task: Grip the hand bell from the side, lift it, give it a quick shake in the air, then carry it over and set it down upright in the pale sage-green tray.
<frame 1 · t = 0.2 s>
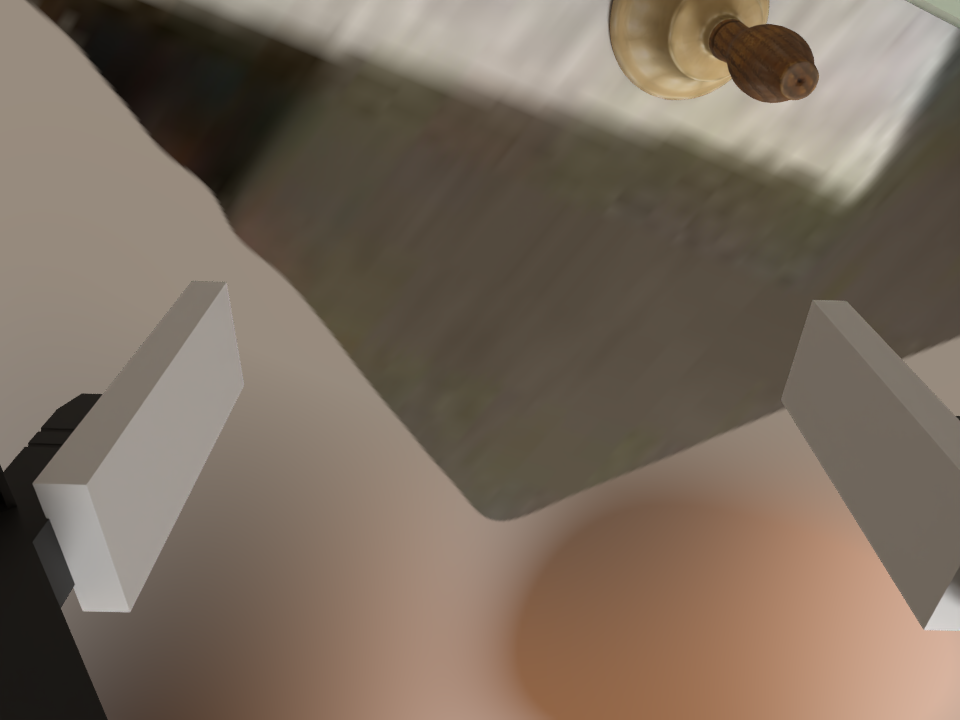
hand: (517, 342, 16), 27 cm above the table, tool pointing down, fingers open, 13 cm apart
hand bell: (687, 17, 38), on the table
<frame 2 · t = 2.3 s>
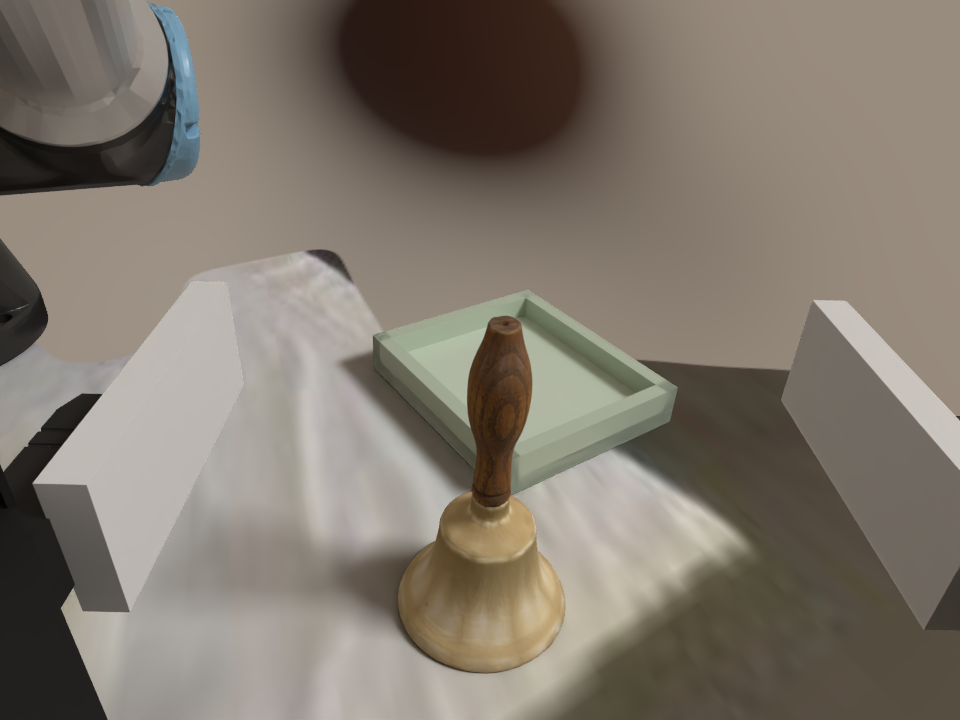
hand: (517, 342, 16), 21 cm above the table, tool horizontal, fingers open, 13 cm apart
hand bell: (481, 600, 36), on the table
tray: (516, 393, 50), on the table
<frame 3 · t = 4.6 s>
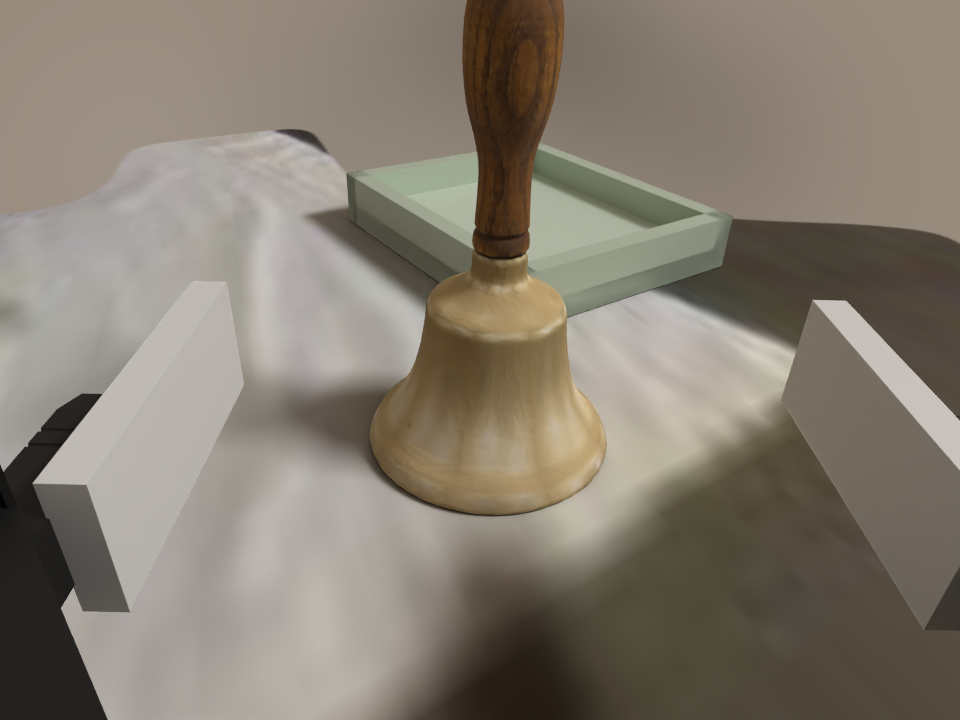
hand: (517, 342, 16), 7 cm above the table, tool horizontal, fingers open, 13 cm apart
hand bell: (488, 438, 25), on the table
tray: (526, 241, 40), on the table
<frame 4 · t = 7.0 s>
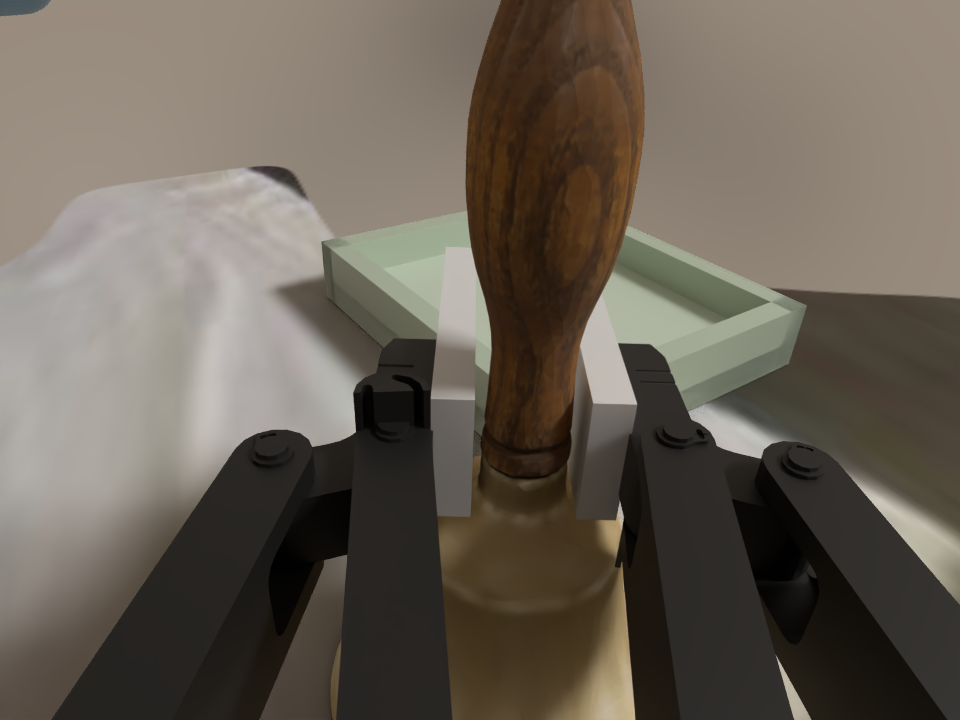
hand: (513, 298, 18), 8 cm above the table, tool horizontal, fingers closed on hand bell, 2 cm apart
hand bell: (502, 680, 18), on the table, touching gripper
tray: (543, 327, 32), on the table
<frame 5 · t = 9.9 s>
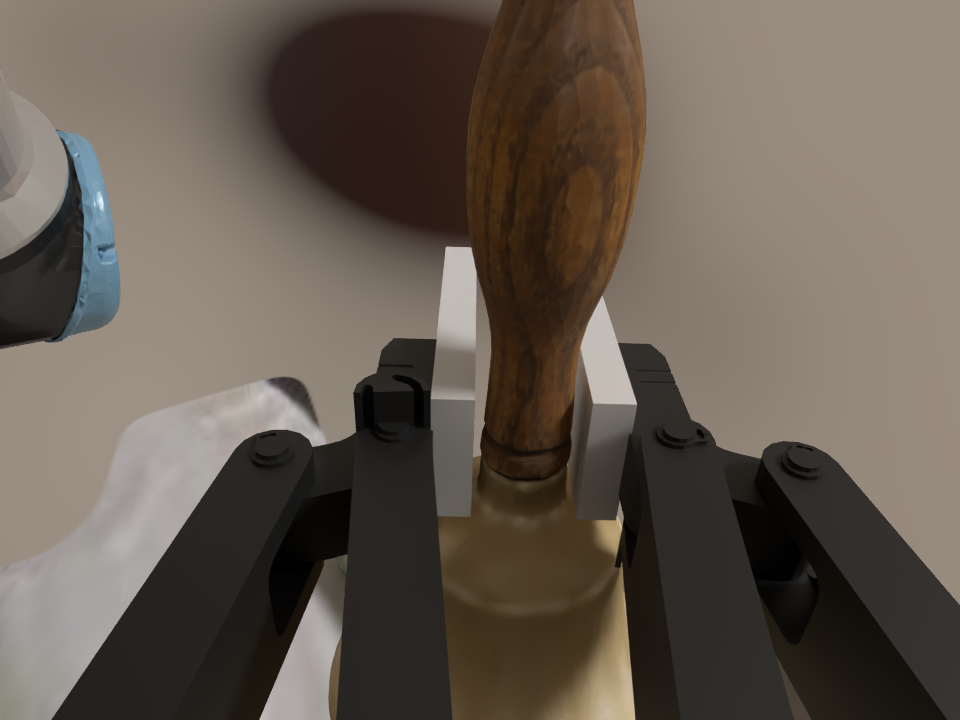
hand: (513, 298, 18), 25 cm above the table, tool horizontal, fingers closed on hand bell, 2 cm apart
hand bell: (501, 682, 18), point 18 cm above the table, touching gripper
when the fingers open (10 cm above the table, at t = 12.9 s): hand bell drops 1 cm, resting on tray.
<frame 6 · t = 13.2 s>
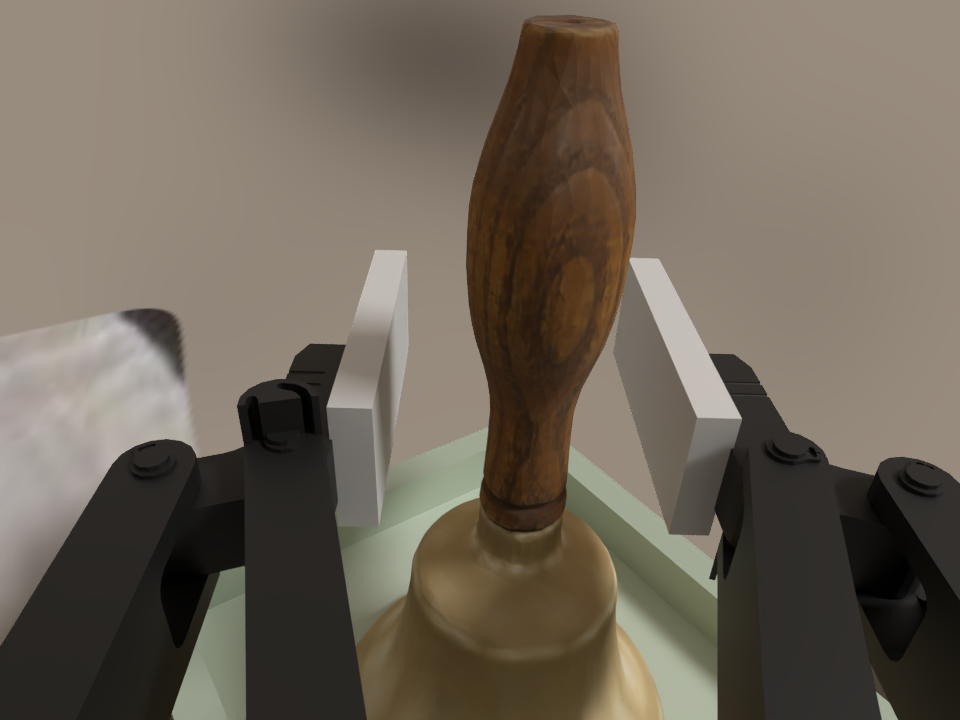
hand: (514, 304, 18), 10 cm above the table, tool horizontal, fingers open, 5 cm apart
hand bell: (499, 712, 18), point 1 cm above the table, touching tray
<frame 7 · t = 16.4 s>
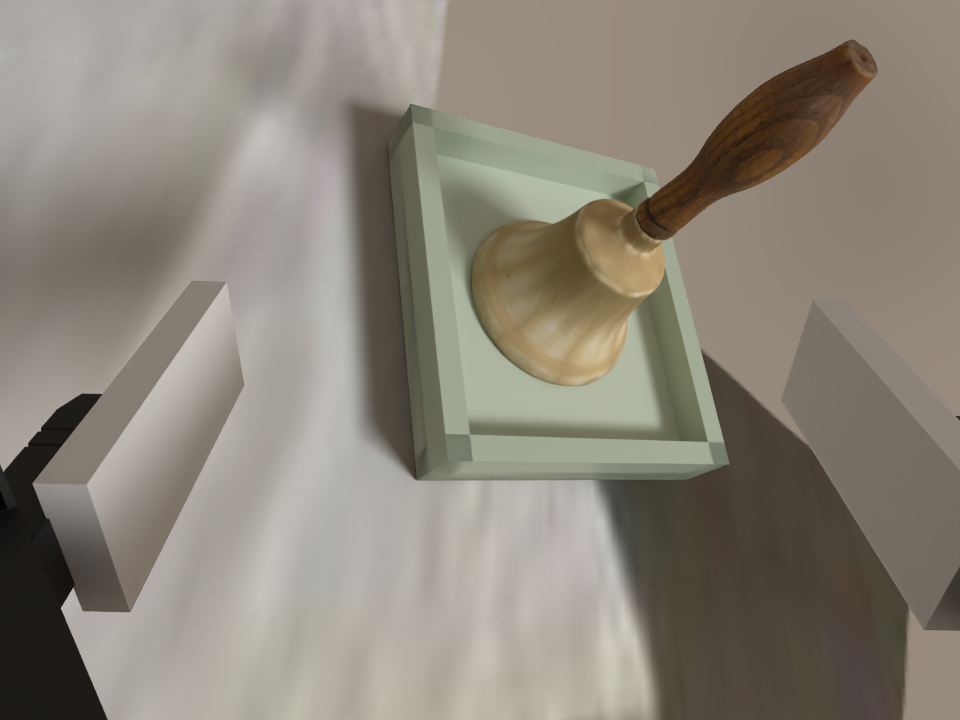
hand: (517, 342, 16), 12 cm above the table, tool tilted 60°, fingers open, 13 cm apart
hand bell: (547, 304, 33), point 1 cm above the table, touching tray
tray: (538, 313, 34), on the table
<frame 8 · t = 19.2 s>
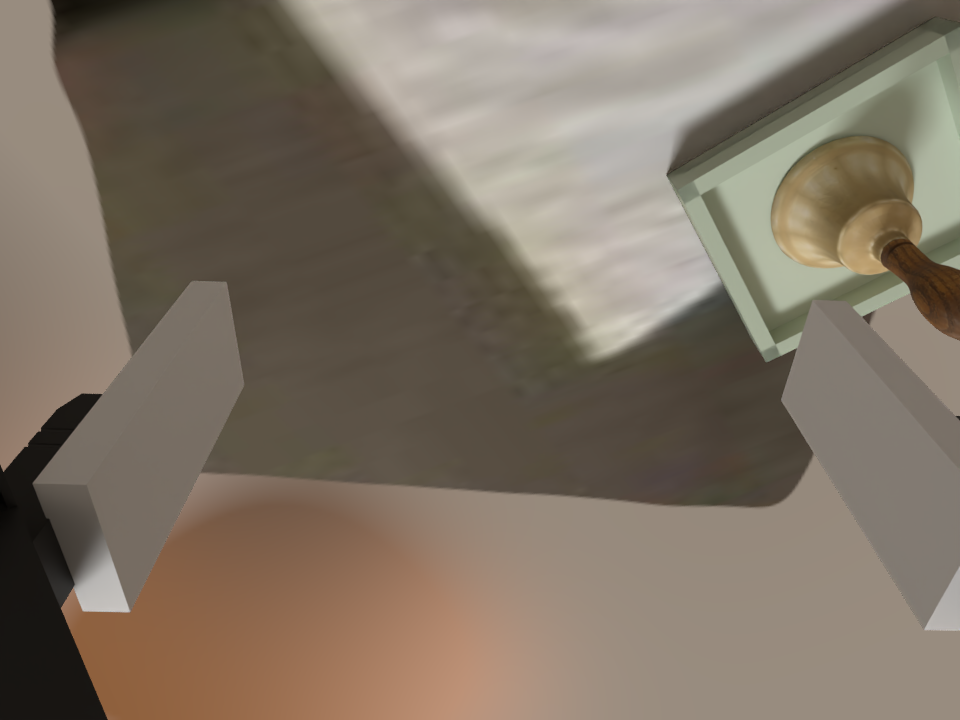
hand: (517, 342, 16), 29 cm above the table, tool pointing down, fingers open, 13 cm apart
hand bell: (838, 203, 43), point 1 cm above the table, touching tray
tray: (832, 199, 44), on the table
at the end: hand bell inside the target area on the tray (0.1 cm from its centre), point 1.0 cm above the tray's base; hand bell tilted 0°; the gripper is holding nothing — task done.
